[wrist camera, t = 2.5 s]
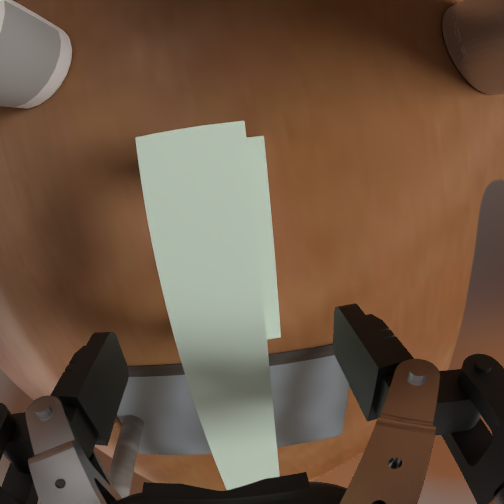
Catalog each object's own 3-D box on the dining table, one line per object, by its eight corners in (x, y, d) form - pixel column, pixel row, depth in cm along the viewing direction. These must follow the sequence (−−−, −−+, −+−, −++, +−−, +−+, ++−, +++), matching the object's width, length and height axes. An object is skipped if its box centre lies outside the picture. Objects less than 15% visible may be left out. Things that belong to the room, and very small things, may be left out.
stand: (260, 137, 19) (325, 116, 6) (276, 323, 24) (319, 477, 11) (169, 148, 19) (66, 154, 6) (201, 332, 24) (187, 491, 11)
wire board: (362, 338, 25) (461, 502, 9) (350, 421, 29) (402, 552, 13) (101, 366, 24) (37, 533, 8) (142, 443, 28) (120, 577, 12)
